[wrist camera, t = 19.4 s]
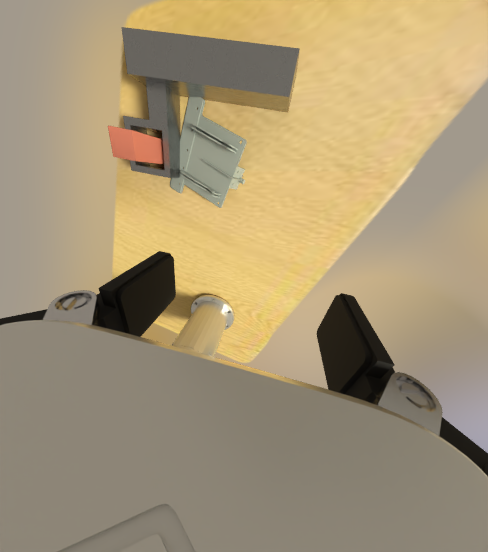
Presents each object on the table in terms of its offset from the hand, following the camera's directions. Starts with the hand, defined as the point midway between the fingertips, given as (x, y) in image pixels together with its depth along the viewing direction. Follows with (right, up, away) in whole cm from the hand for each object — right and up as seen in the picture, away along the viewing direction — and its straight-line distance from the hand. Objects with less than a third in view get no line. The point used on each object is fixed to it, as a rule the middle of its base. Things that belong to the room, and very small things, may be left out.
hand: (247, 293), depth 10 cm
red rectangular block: (-15, +24, +23) cm, 37 cm away
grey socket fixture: (-6, +26, +20) cm, 33 cm away
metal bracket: (-6, +22, +23) cm, 32 cm away
